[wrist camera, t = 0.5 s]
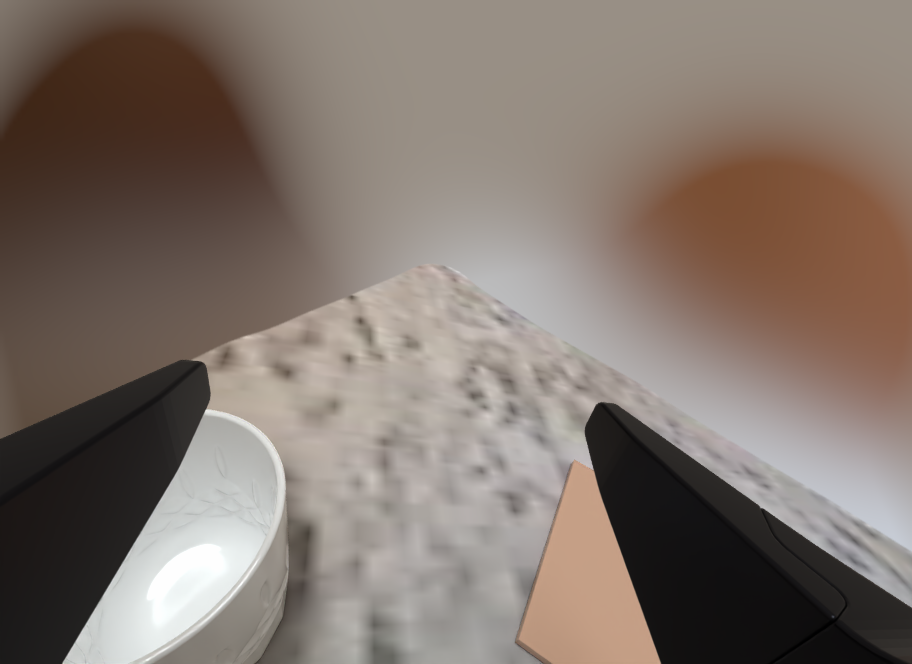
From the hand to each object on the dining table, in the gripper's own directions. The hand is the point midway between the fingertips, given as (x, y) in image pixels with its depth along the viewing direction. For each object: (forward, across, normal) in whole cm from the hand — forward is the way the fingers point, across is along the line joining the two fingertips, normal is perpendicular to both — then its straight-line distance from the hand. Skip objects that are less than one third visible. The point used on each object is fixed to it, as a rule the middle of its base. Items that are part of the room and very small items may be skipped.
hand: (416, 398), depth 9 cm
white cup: (+3, +7, +16) cm, 18 cm away
